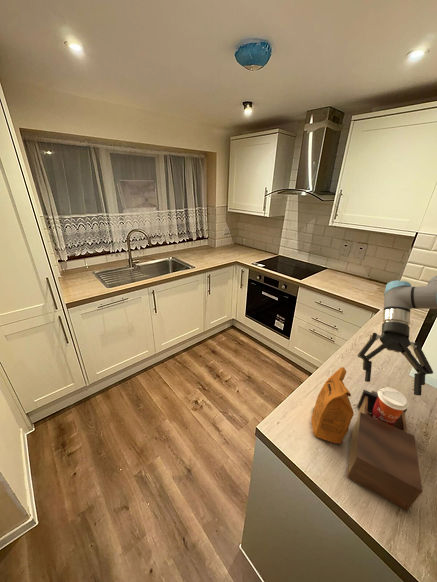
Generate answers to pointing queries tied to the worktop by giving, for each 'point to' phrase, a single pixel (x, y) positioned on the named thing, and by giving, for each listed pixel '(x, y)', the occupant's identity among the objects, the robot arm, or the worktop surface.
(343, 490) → the worktop surface
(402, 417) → the drawer
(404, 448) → the cabinet
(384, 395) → the paper cup
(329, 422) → the coffee package
